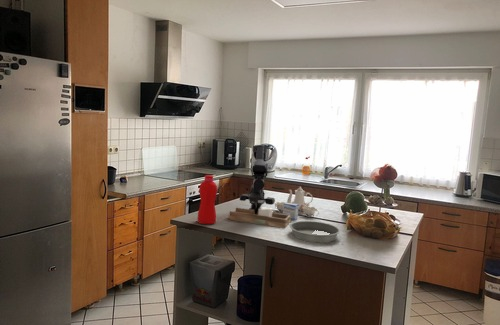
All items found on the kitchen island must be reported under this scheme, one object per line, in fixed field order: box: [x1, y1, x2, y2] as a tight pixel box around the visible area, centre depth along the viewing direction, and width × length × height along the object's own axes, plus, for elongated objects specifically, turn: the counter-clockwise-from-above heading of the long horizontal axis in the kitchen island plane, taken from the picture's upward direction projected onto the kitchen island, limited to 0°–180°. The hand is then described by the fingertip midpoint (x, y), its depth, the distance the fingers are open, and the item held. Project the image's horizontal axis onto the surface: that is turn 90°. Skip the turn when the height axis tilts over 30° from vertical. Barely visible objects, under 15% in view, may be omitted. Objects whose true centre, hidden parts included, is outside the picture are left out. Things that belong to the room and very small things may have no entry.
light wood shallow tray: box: [227, 207, 292, 229], centre depth 214 cm, size 14×32×4 cm, turn 72°
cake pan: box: [289, 220, 341, 243], centre depth 192 cm, size 25×25×4 cm
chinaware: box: [274, 186, 320, 218], centre depth 236 cm, size 28×17×17 cm, turn 70°
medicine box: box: [282, 201, 299, 221], centre depth 223 cm, size 8×4×9 cm, turn 62°
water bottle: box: [197, 174, 218, 225], centre depth 203 cm, size 9×11×25 cm
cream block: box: [258, 206, 273, 217], centre depth 213 cm, size 6×6×5 cm
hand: (256, 214), depth 215 cm, fingers closed
